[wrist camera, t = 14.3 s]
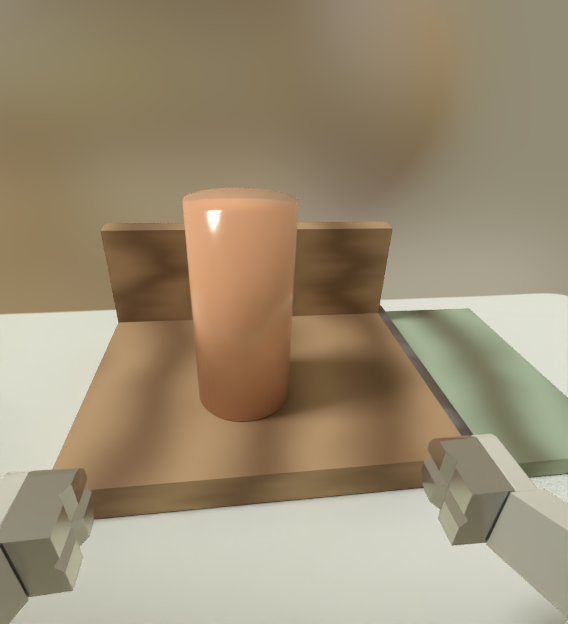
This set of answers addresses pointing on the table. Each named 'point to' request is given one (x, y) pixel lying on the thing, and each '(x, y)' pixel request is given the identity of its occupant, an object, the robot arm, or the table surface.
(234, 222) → the peach cylinder
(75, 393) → the table surface
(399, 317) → the brown wooden l-shaped board
